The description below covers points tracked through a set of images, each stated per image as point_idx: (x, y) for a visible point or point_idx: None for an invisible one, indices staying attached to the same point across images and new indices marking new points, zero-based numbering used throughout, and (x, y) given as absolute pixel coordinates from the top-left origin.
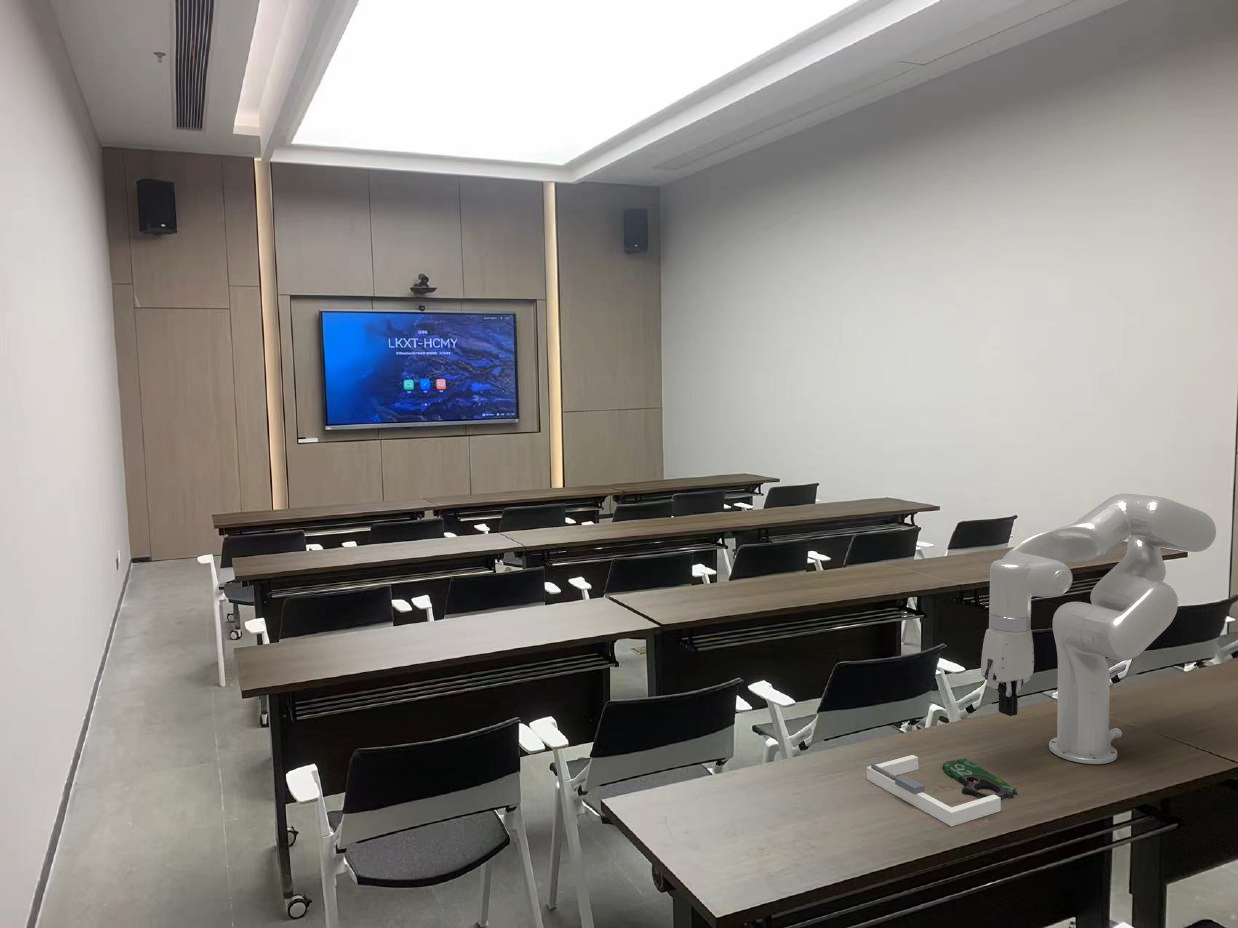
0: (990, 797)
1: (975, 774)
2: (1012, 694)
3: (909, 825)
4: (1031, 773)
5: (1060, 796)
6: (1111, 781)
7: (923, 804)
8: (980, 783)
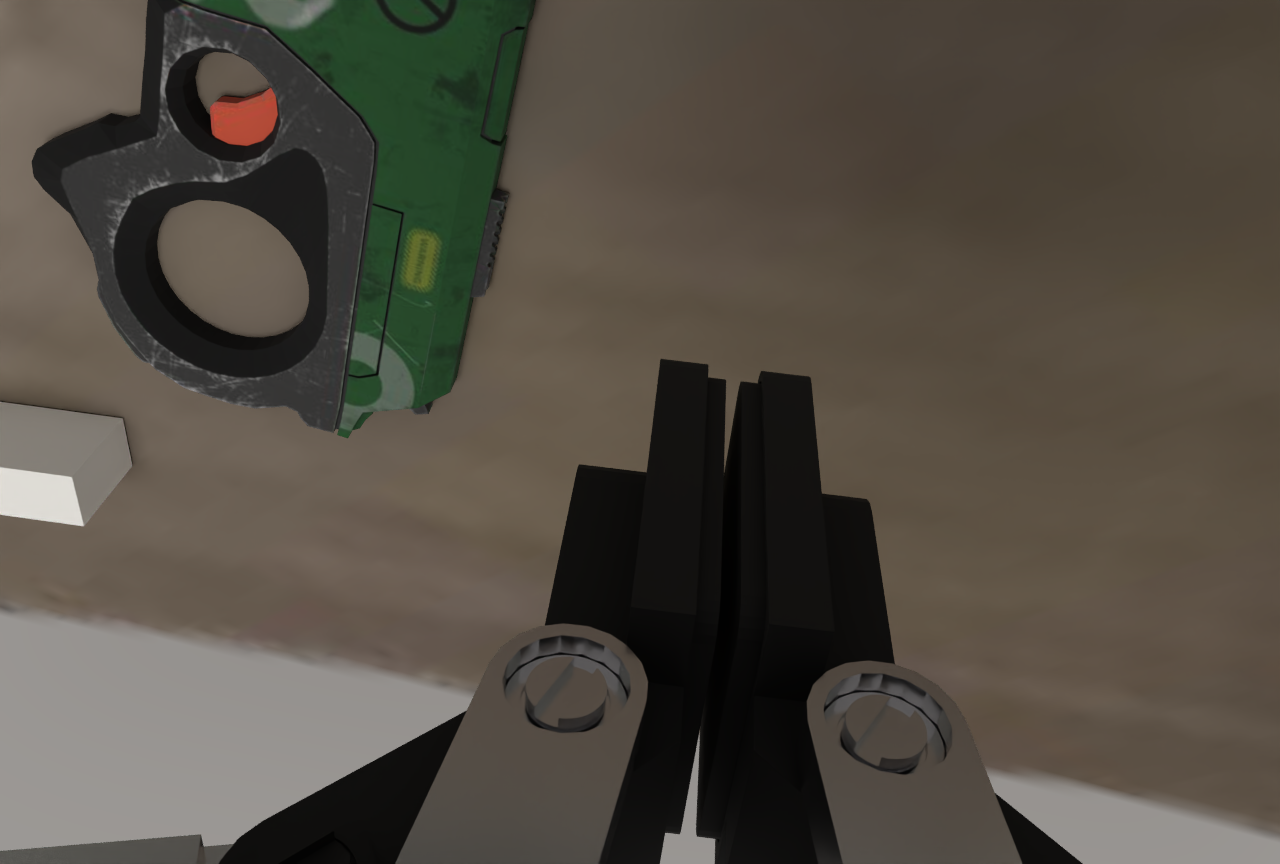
0: (13, 488)
1: (327, 56)
2: (724, 826)
3: None
4: (880, 268)
5: None
6: (1183, 656)
7: None
8: (250, 186)
